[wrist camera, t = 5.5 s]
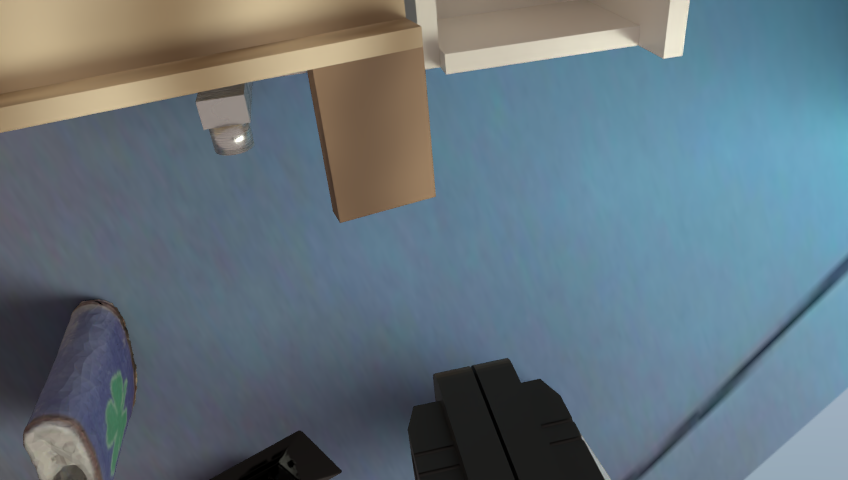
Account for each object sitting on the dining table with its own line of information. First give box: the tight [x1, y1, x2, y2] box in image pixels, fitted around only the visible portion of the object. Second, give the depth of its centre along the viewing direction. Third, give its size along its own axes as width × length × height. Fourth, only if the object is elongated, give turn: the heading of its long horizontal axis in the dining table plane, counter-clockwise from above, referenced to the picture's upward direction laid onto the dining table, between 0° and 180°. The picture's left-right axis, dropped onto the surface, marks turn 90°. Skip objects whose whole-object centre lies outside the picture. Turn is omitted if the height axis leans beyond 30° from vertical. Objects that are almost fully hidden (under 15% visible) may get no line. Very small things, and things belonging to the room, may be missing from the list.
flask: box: [23, 299, 137, 480], centre depth 32 cm, size 9×3×11 cm, turn 172°
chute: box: [0, 0, 436, 223], centre depth 22 cm, size 15×13×4 cm
